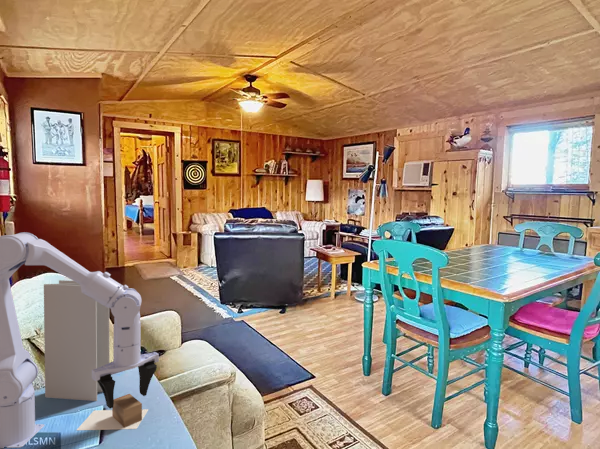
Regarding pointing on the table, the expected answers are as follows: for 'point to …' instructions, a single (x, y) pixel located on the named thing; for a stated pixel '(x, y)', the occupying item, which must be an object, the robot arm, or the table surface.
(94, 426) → the beige board
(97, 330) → the tall grey box
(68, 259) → the robot arm
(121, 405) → the walnut block
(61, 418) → the table surface
